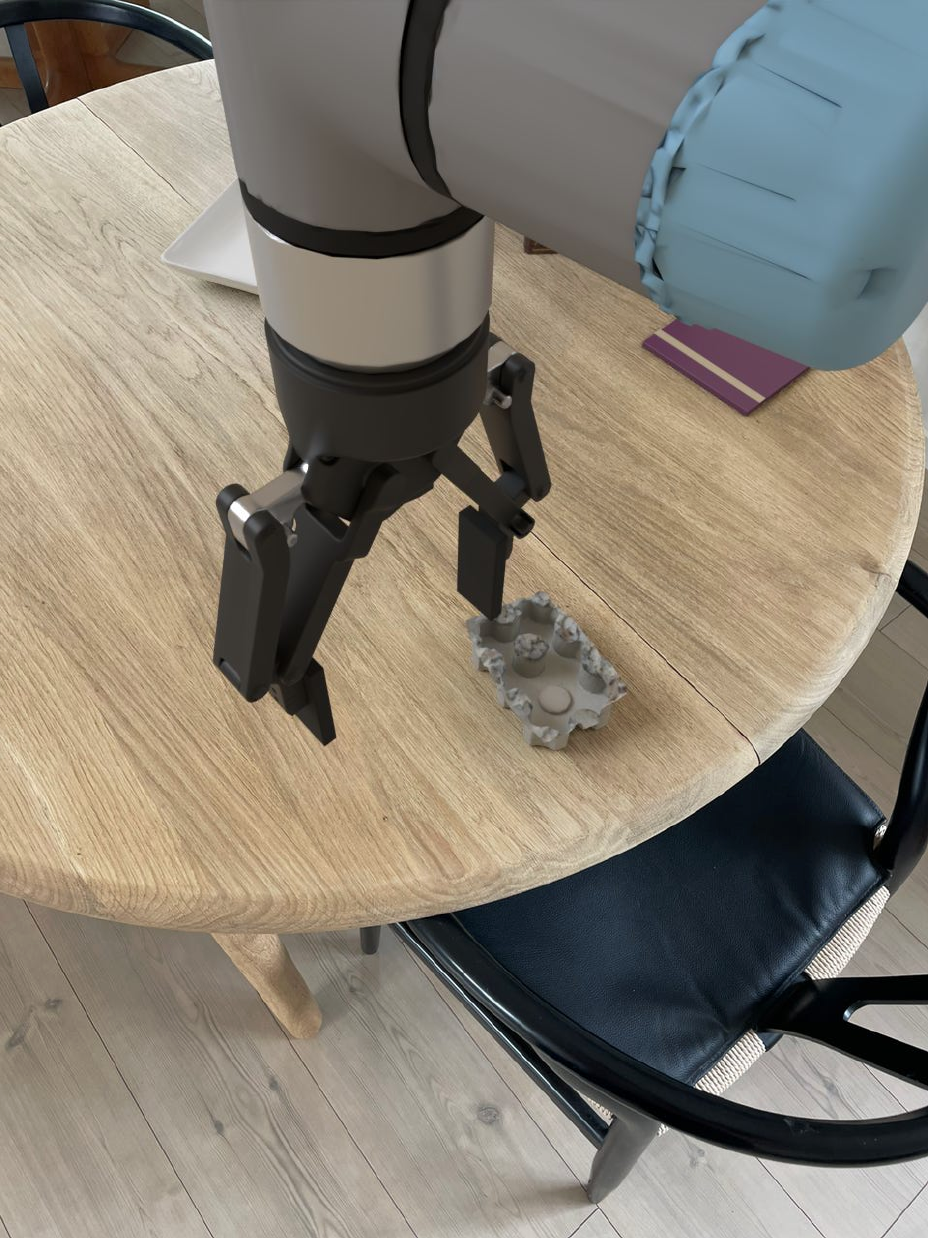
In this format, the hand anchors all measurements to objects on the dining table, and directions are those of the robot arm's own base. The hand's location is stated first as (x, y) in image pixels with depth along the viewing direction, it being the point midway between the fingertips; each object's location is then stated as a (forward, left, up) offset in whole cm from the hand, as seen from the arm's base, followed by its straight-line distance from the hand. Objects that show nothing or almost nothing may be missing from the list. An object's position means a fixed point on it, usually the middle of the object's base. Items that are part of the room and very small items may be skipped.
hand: (399, 660), depth 50 cm
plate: (+49, -30, -16) cm, 60 cm away
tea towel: (+13, -50, -16) cm, 54 cm away
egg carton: (0, -12, -16) cm, 20 cm away
